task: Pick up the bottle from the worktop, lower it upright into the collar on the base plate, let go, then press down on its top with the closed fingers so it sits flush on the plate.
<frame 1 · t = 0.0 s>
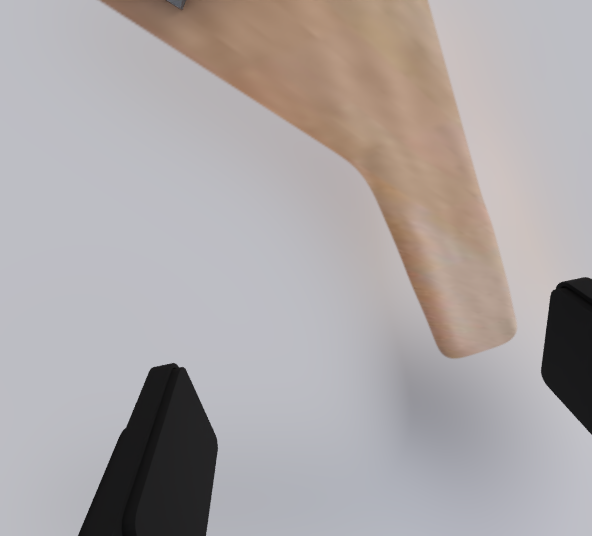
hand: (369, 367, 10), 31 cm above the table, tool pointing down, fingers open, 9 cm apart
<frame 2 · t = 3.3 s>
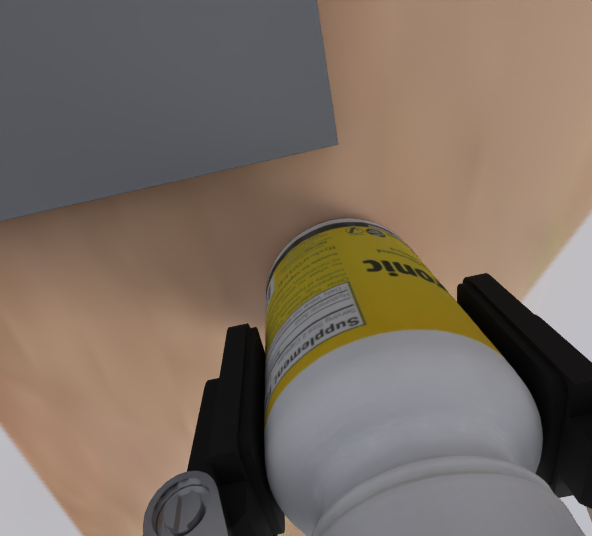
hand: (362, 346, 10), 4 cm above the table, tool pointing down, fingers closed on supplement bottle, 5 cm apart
supplement bottle: (340, 281, 14), on the table, touching gripper
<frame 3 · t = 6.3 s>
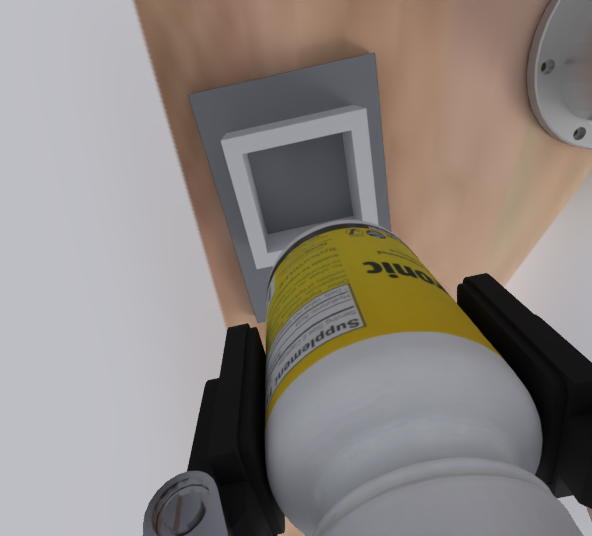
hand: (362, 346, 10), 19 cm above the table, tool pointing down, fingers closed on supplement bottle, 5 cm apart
collar stand: (305, 204, 28), on the table
supplement bottle: (340, 282, 14), point 16 cm above the table, touching gripper
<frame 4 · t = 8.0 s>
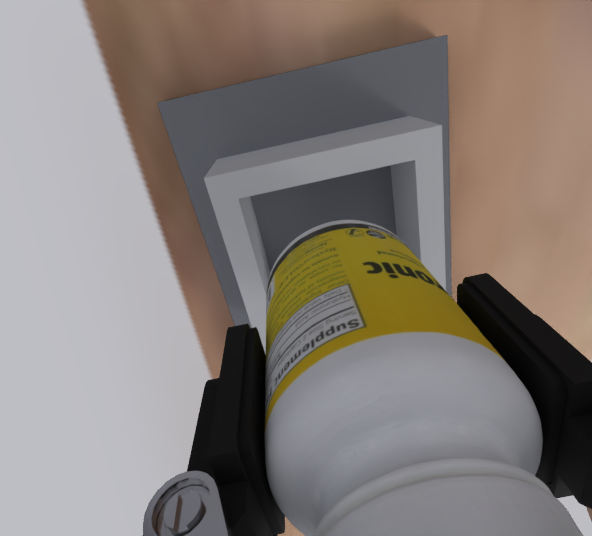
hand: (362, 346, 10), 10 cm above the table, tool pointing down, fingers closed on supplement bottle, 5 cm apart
collar stand: (331, 255, 20), on the table
supplement bottle: (340, 282, 14), point 6 cm above the table, touching gripper
when the fingers open (5 cm above the table, at t = 9.3 s): supplement bottle stays where it is, resting on collar stand.
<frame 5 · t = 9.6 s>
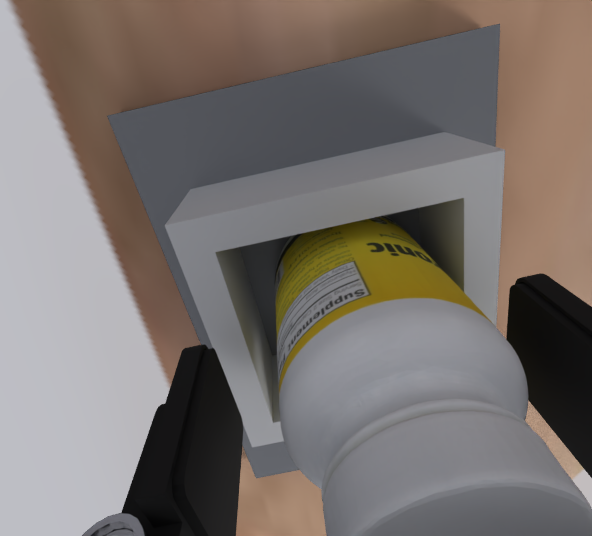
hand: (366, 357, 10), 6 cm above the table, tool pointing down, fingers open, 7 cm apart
collar stand: (339, 301, 16), on the table
supplement bottle: (343, 268, 14), point 1 cm above the table, touching collar stand
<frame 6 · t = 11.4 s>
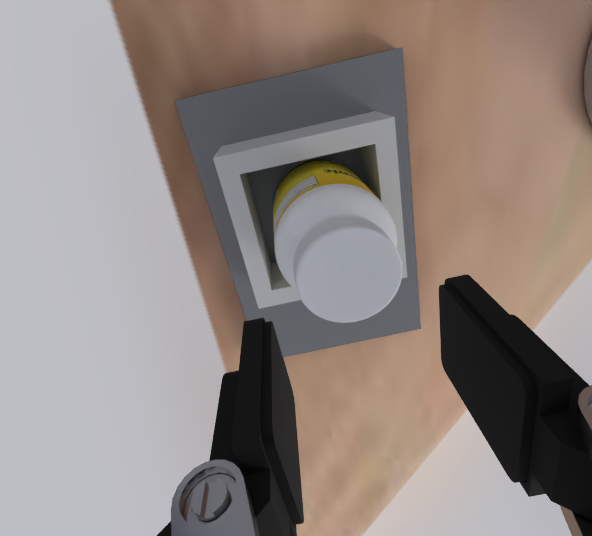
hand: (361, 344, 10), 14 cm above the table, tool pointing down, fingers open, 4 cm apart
collar stand: (316, 227, 24), on the table
supplement bottle: (317, 201, 22), point 1 cm above the table, touching collar stand
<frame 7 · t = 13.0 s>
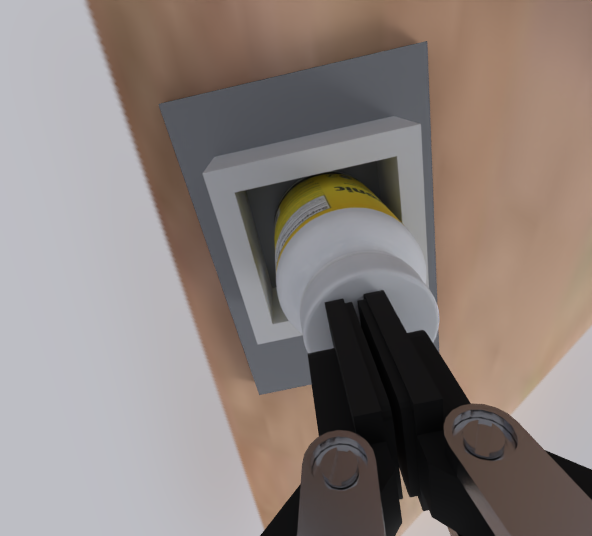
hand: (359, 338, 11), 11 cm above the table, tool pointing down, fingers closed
collar stand: (323, 247, 21), on the table
supplement bottle: (325, 218, 20), point 1 cm above the table, touching collar stand, gripper
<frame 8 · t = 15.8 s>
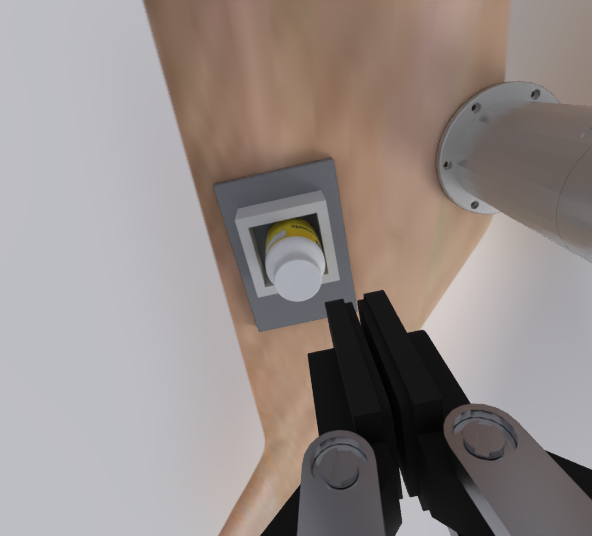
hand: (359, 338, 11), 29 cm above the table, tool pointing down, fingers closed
collar stand: (291, 251, 41), on the table
supplement bottle: (291, 236, 40), point 1 cm above the table, touching collar stand
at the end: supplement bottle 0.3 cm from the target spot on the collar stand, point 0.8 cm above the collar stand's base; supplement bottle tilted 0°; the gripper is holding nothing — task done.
